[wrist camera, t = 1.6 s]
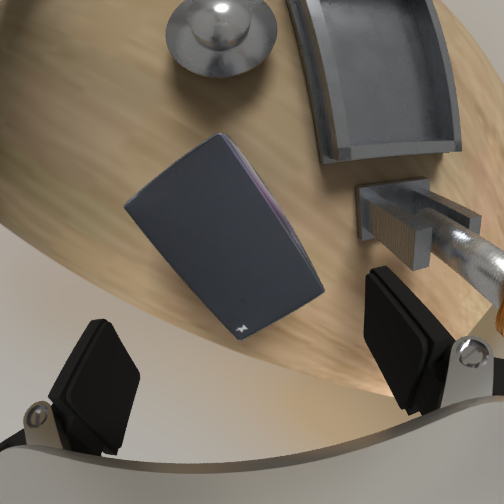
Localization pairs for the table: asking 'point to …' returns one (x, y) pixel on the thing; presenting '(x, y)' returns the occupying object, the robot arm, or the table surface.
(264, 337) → the table surface
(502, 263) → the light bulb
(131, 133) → the table surface
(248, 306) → the small box
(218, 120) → the table surface
